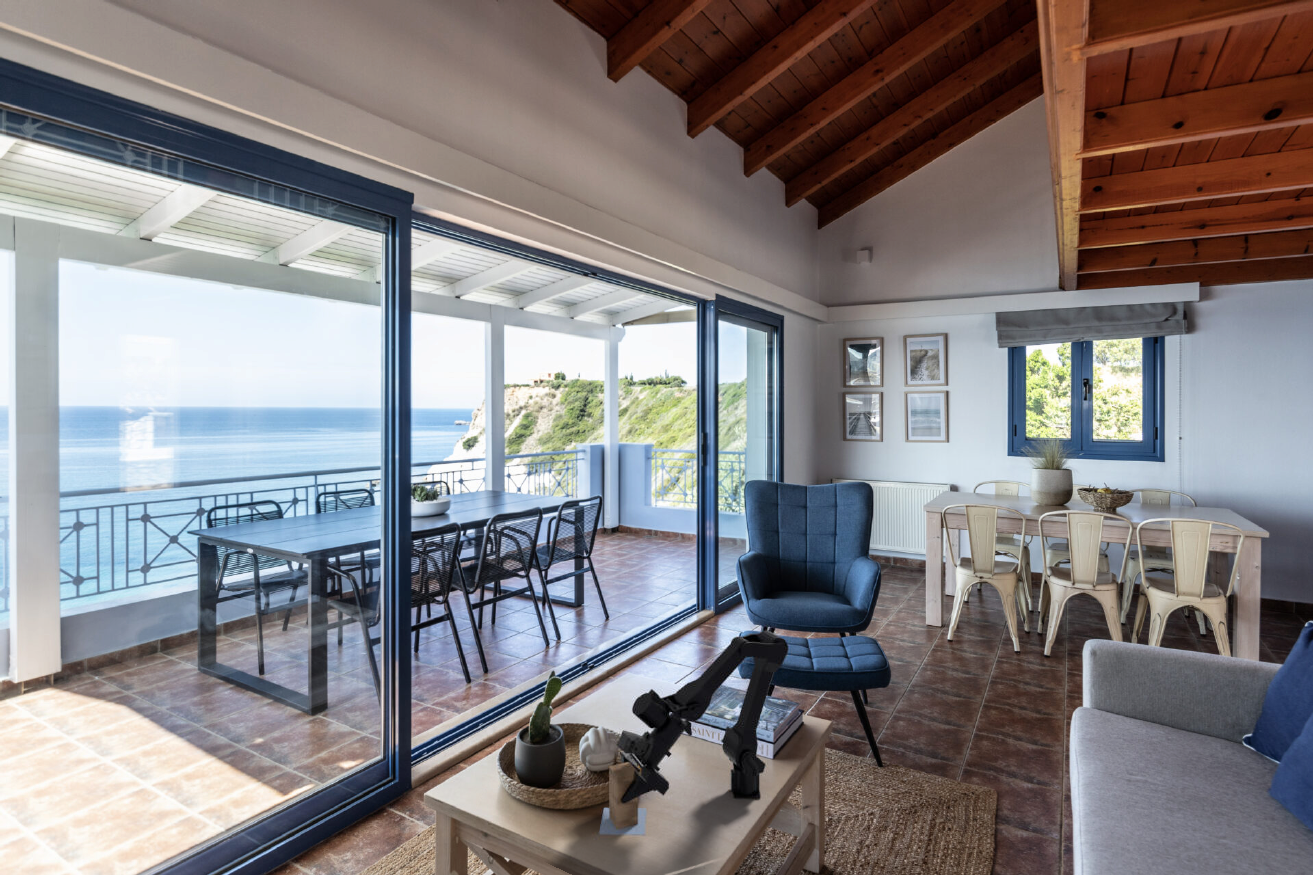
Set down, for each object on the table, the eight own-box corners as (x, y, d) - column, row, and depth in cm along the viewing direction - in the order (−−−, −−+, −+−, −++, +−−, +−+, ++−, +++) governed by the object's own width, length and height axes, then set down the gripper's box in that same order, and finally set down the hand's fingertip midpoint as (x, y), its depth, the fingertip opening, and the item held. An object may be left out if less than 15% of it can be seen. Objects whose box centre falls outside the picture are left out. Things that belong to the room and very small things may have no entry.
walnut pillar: (629, 812, 161) (629, 761, 160) (637, 824, 156) (637, 772, 156) (609, 817, 159) (609, 766, 158) (617, 829, 154) (617, 776, 154)
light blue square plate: (646, 810, 162) (646, 808, 162) (644, 836, 152) (644, 834, 152) (604, 809, 163) (604, 807, 163) (599, 836, 153) (599, 833, 153)
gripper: (624, 703, 167) (580, 757, 163) (656, 736, 150) (608, 798, 146) (654, 728, 170) (612, 782, 166) (688, 764, 153) (642, 825, 149)
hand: (617, 796), depth 157 cm, fingers closed on walnut pillar, 5 cm apart
